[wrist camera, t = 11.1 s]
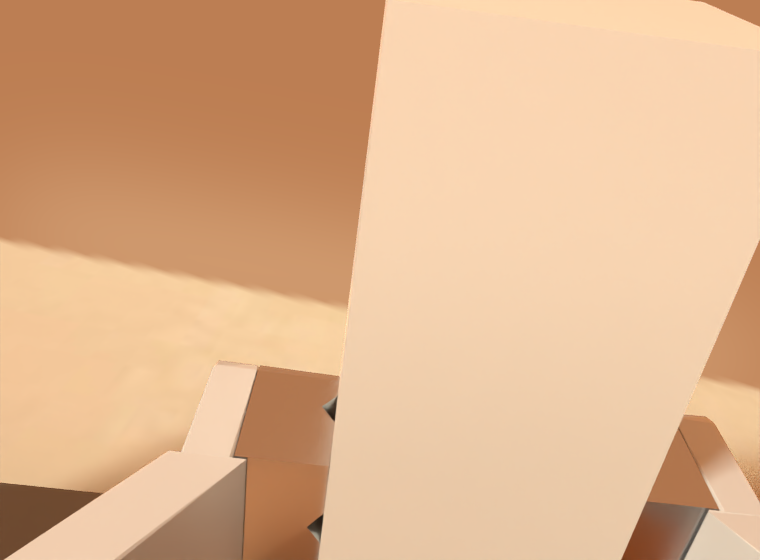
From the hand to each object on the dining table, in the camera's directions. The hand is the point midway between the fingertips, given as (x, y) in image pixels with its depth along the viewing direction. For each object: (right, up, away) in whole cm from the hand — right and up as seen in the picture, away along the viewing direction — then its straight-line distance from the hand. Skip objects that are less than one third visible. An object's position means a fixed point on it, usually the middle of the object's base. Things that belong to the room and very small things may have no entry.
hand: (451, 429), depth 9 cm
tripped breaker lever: (-1, -7, +3) cm, 7 cm away
